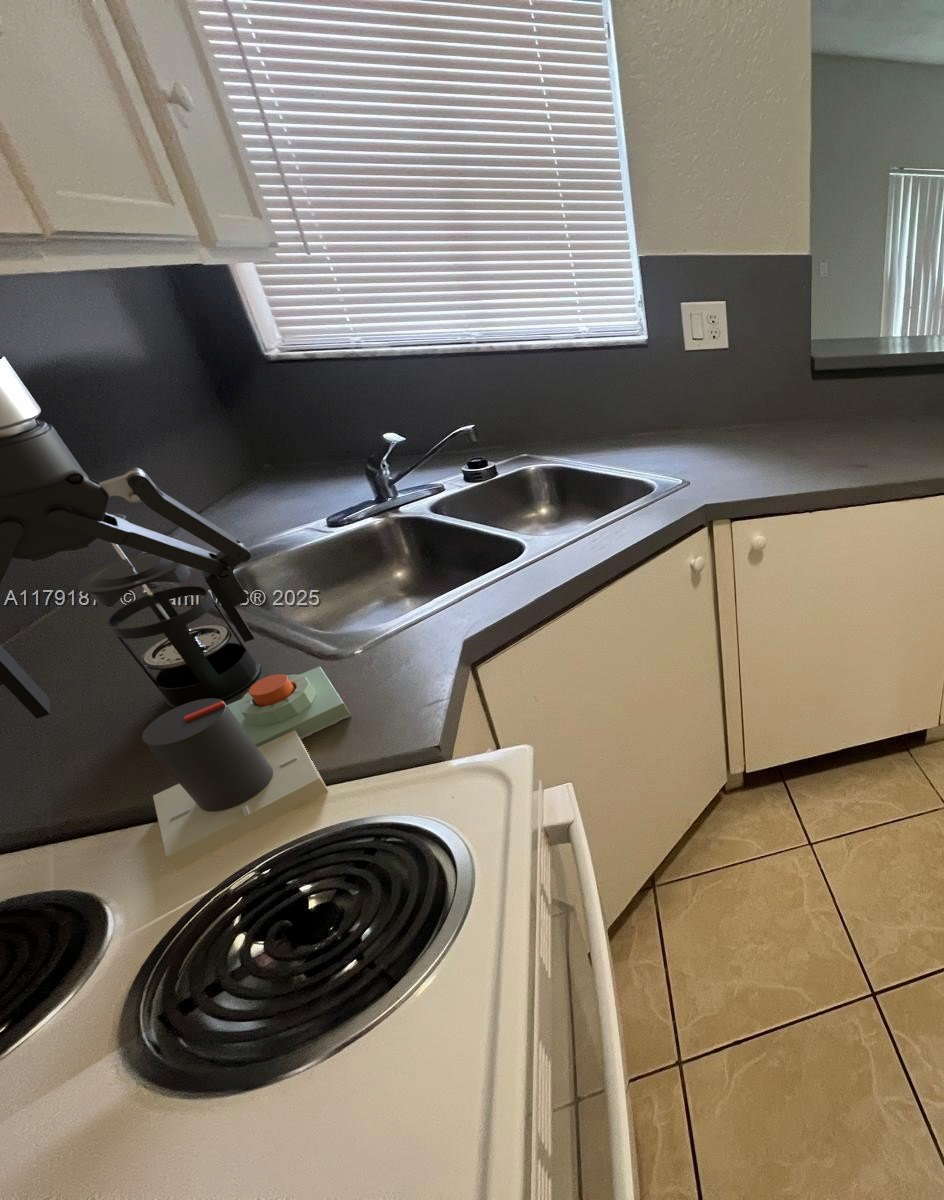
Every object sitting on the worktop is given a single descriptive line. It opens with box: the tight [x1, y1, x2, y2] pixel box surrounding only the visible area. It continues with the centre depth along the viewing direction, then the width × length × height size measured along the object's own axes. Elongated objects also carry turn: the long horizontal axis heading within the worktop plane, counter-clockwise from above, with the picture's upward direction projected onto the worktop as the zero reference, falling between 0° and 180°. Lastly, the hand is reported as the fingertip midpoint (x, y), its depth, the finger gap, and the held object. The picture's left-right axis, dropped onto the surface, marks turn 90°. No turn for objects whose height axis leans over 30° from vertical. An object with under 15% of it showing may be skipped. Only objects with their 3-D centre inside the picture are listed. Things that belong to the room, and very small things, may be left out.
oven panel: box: [152, 730, 329, 871], centre depth 63 cm, size 10×12×2 cm
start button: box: [248, 673, 295, 707], centre depth 71 cm, size 4×4×2 cm
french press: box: [77, 513, 262, 710], centre depth 72 cm, size 12×9×23 cm
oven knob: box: [141, 698, 273, 811], centre depth 60 cm, size 6×6×9 cm
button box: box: [226, 665, 351, 747], centre depth 72 cm, size 10×10×4 cm
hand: (152, 669), depth 55 cm, fingers open, 13 cm apart
